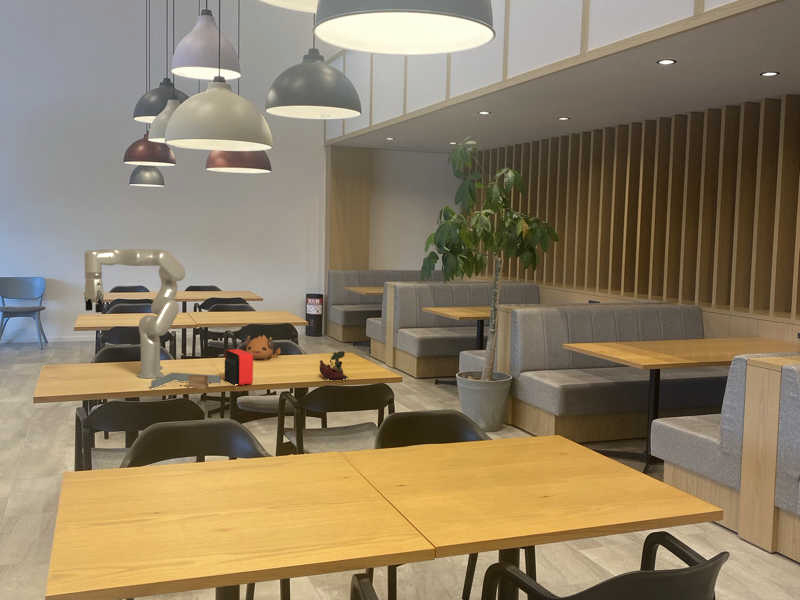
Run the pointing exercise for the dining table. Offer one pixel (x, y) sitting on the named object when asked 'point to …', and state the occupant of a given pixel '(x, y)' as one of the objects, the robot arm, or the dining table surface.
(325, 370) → the multicoloured piece
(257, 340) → the toy
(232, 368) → the red black block
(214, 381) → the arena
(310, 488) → the dining table surface
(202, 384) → the walnut block
